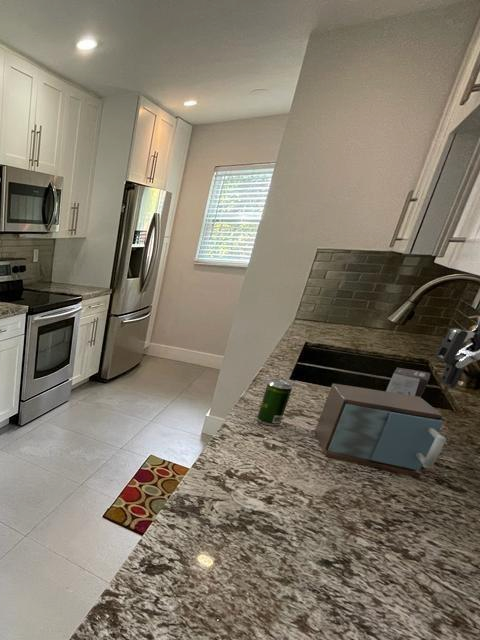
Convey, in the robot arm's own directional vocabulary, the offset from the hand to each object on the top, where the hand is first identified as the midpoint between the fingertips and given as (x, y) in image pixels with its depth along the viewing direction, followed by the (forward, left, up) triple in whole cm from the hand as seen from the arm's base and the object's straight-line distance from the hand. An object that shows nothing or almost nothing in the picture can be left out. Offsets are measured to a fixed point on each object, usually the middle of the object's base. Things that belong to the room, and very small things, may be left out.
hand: (479, 389), depth 73 cm
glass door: (+2, -7, -22) cm, 23 cm away
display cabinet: (+6, -18, -23) cm, 30 cm away
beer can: (+24, -25, -24) cm, 42 cm away
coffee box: (-4, -38, -24) cm, 45 cm away
